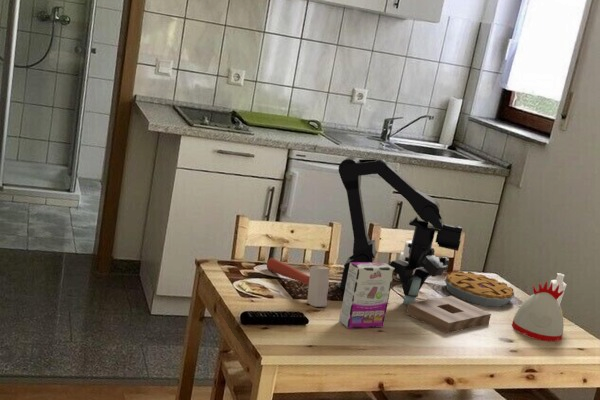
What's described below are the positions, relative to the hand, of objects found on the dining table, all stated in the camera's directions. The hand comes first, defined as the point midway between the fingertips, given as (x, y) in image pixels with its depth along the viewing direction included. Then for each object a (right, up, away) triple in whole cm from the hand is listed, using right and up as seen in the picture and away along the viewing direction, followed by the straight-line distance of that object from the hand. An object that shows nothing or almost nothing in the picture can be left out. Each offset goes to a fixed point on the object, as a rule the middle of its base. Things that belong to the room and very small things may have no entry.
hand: (410, 294), depth 219 cm
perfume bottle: (+42, -9, +8) cm, 44 cm away
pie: (+24, -3, +21) cm, 32 cm away
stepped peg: (-1, -3, +1) cm, 3 cm away
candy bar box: (-16, -5, -22) cm, 28 cm away
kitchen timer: (+35, -10, -2) cm, 37 cm away
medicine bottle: (+3, +2, +26) cm, 26 cm away
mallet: (-34, +2, -3) cm, 34 cm away
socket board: (+10, -6, -6) cm, 13 cm away
